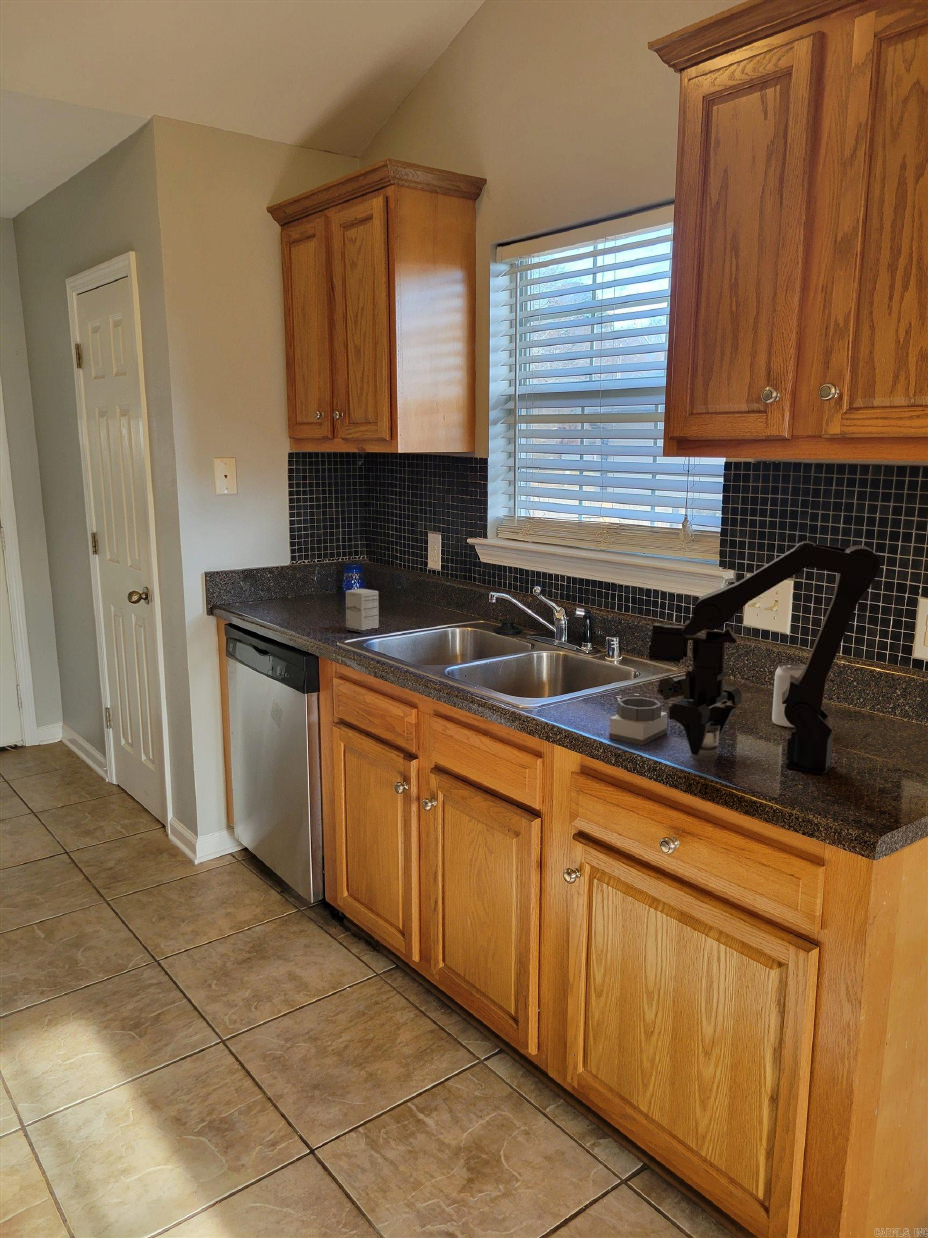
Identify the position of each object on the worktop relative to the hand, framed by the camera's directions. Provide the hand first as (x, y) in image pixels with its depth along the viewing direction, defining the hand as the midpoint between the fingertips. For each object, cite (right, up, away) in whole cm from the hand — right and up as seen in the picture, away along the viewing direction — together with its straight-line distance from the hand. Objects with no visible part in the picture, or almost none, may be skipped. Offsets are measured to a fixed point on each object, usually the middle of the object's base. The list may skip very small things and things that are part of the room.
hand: (703, 749), depth 165 cm
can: (+23, +2, +20) cm, 30 cm away
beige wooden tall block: (-75, +20, +115) cm, 139 cm away
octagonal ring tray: (-10, +1, +12) cm, 15 cm away
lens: (0, -1, 0) cm, 1 cm away
